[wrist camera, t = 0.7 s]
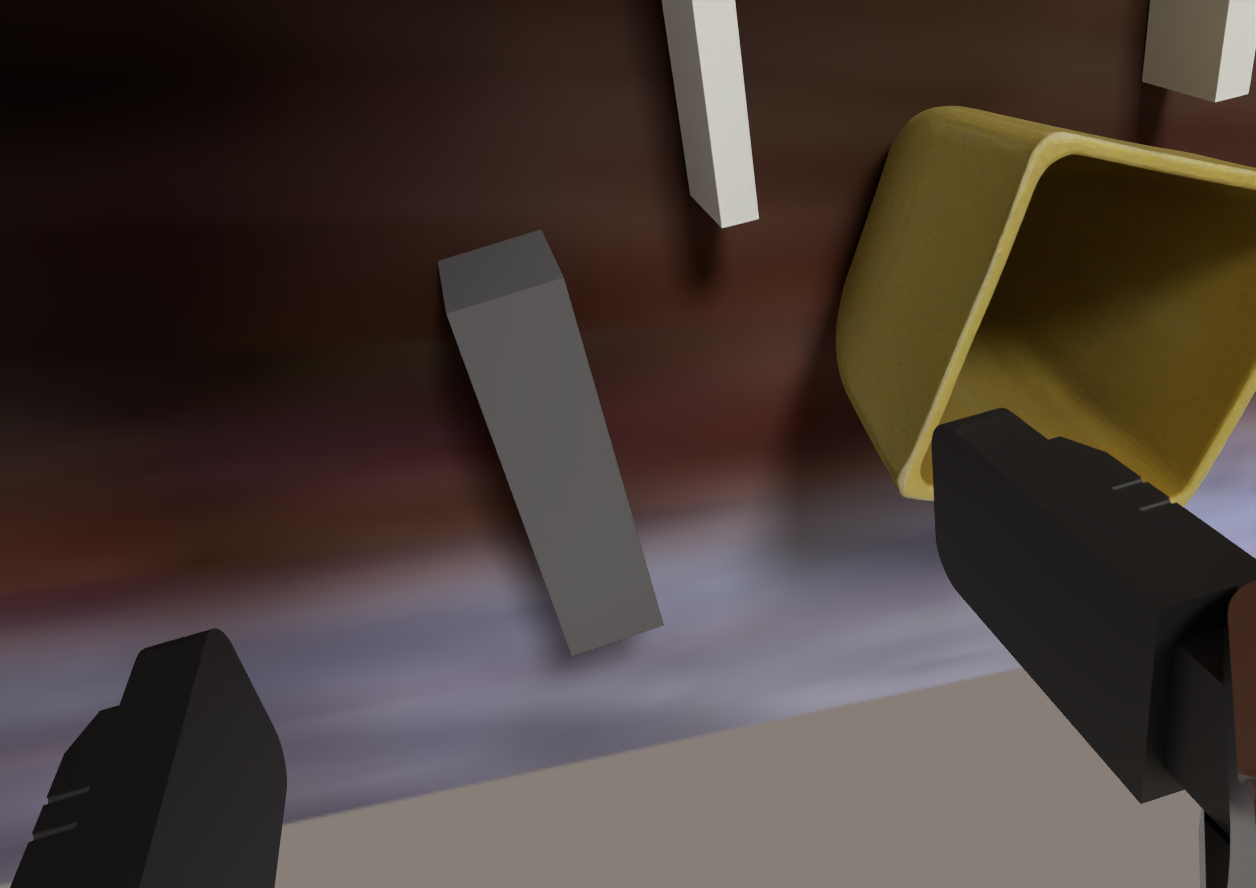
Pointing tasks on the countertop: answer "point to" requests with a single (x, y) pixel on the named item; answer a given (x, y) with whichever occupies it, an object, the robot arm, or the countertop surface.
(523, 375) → the tall gray bar
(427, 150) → the countertop surface
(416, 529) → the countertop surface
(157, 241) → the countertop surface
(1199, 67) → the white shallow tray
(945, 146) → the flower pot
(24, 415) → the countertop surface
